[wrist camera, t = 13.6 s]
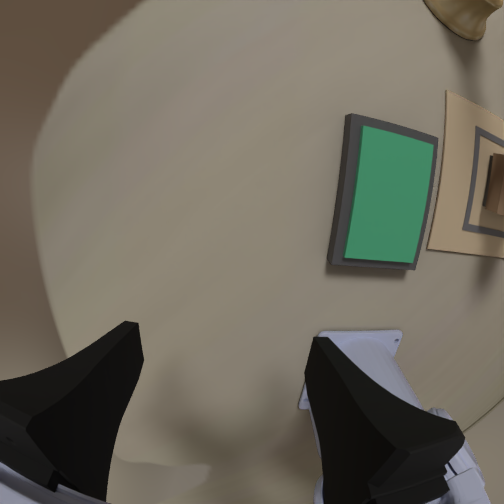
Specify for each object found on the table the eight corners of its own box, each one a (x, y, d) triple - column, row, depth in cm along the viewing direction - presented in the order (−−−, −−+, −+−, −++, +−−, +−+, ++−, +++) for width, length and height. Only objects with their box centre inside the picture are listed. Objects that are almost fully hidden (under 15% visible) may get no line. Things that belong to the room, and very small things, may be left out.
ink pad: (407, 264, 20) (417, 272, 19) (326, 258, 20) (332, 266, 18) (429, 137, 17) (441, 137, 15) (345, 115, 17) (353, 112, 15)
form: (522, 259, 21) (523, 260, 20) (426, 247, 20) (428, 249, 20) (540, 146, 16) (541, 146, 16) (445, 89, 16) (447, 89, 15)
